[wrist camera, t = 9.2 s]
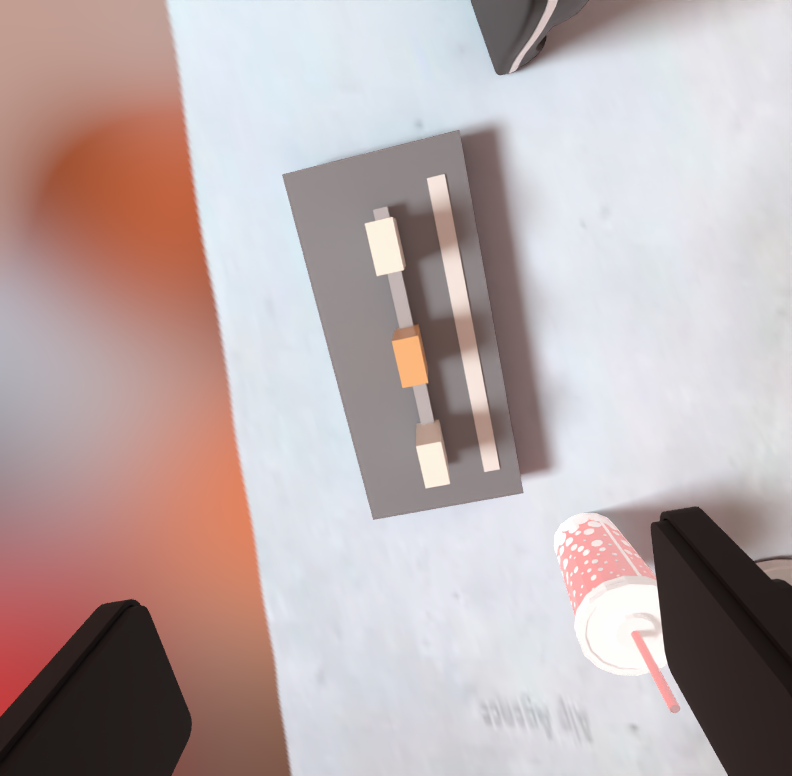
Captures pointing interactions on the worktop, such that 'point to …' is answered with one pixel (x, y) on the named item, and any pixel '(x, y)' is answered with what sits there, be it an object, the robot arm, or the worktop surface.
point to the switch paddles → (408, 346)
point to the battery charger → (519, 27)
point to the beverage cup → (612, 599)
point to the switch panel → (430, 307)
